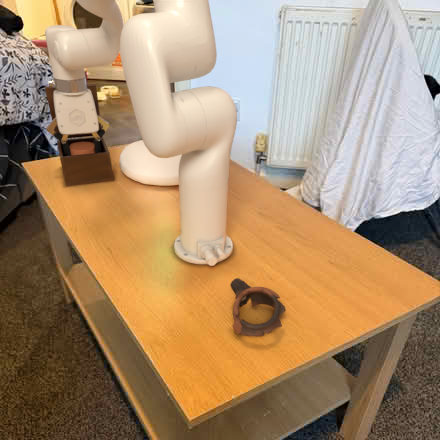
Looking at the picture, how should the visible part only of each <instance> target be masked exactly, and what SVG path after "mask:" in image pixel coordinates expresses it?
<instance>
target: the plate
mask: <svg viewBox="0 0 440 440" xmlns="http://www.w3.org/2000/svg"><path fill="white" fill-rule="evenodd" d="M181 156H182V154H181V155H178V156H174V157H170V158H159V157H156V156H154V155H153V154H151V153H150V152H149V150H148V149H147V148H146V146H145V144H144V142H143V140H142V139H140V140H136V141H134V142H132V143H129V144H128V145H126V146H125V147H124V148H123V150H122V151H121V152H120V154H119V161H118V164H119V169H120V171H121V173H123V174H124V175H125V176H126V178H129V179H131V180H133V181H135V182H138V183H140V184H143V185H148V186H149V185H151V186H152V185H153V186H163V187H164V186H165V187H166V186H167V187H169V186H171V187H172V186H179V163H180V159H181Z"/></svg>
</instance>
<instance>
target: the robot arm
mask: <svg viewBox="0 0 440 440" xmlns="http://www.w3.org/2000/svg"><path fill="white" fill-rule="evenodd" d="M75 1H76V2H77V4H78V5H79V6H80V7H82V8H83V9H84V10H86V11H87V12H88V13H91V14H93V15H95V16H96V17H99V18H101V19H102V22H101V24H100V26H99V27H94V28H93V27H90V28H79V29H77V28H75V27H74V26H72V25H66V24H65V25H64V24H55V25H49V26H46V28H45V30H44V36H45V41H46V48H47V51H48V57H49V62H50V67H51V72H52V76H53V78H52V79H51V80H48V82H47V83H48V86H49V87H54V88H56V90H55V91H54V107H55V114H56V117H55V118H54V119H53V120H52V119H51V121H50V123H49V124H48V125H47V126H46V131H47V132H48V133H49V134H50V135H52V137H54V138H55V140H59V141H60V142H61V143H62V144H63V147H64V152H65V155H66V154H68V156H71V154H70V149H69V144H68V141H67V139H69V138H68V135H74V134H87V133H92V135H93V136H92V137H94V139H93V141H94V145H95V150H96V153H99V151H101V148H100V139H101V138H102V136H104V135H105V134H106V132H107V130H108V129H109V128H110V123H109V122H108V121H107V120H105V119H104V118H103V117H101V115H100V116H98V115H97V113H96V108H95V103H94V99H93V96H92V93H91V91H90V90H89V89H87V78H86V72H85V69H88V68H89V69H90V68H97V67H105V66H109V65H111V64H113V63H114V62H116V60H117V58H118V56H120V62H121V66H122V71H123V74H124V79H125V83H126V87H127V91H128V95H129V97H130V102H131V105H132V109H133V113H134V117H135V120H136V124H137V128H138V131H139V134H140V137H141V140H143V142H144V144H145V146H146V148H147V149H148V150H149V152H150V153H151V154H153V155H154V156H156V157H159V158H170V157H174V156H178V155H181V154H182V156H181V159H180V163H179V185H178V198H179V222H180V224H179V225H180V235H178V236H177V237H176V238H175V239H174V243H173V251H174V253H175V254H176V256H177V257H178V258H179V259H181V260H183V261H184V262H187V263H191V264H194V265H208V266H210V267H214V266H215V265H216V264H218V263H219V262H223V261H225V260H227V259H228V258H229V257H230V256H231V255H232V253H233V249H234V243H233V240H232V239H231V238H230V237H229V236H228V235H227V225H228V224H227V221H228V201H229V200H228V198H229V180H230V179H229V178H230V163H231V153H232V148H233V142H234V139H235V135H236V130H237V126H238V125H237V123H238V111H237V107H236V104H235V103H236V102H235V101H234V99H233V97H232V96H231V94H229V93H228V92H227V91H226V90H225V89H223V88H220V87H218V86H209V85H208V86H207V85H206V86H198V87H193V88H187V89H183V90H179V91H173V92H172V91H171V90H172V89H171V84H174V83H179V82H185V81H191V80H196V79H199V78H202V77H205V76H207V75H209V74H210V73H212V71H213V70H214V68H215V66H216V65H217V64H216V63H217V57H218V56H217V54H218V53H217V44H216V36H215V32H214V26H213V20H212V14H211V8H210V2H209V0H152V2H153V8H154V12H145V13H143V12H142V13H139V14H138V13H137V14H135V15H133V16H131V17H129V18H128V19H127V20H126V21H125V22H124V19H123V15H122V12H121V10H120V8H119V6H118V3H117V2H116V0H75ZM98 122H99V123H100V124H101V128H100V130H99V124H98ZM57 125H58V129H59V131H60V133H61V134H59V133H58V132H56V131H55V130H54V128H55V127H56V126H57ZM98 130H99V131H98ZM97 131H98V132H97Z"/></svg>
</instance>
